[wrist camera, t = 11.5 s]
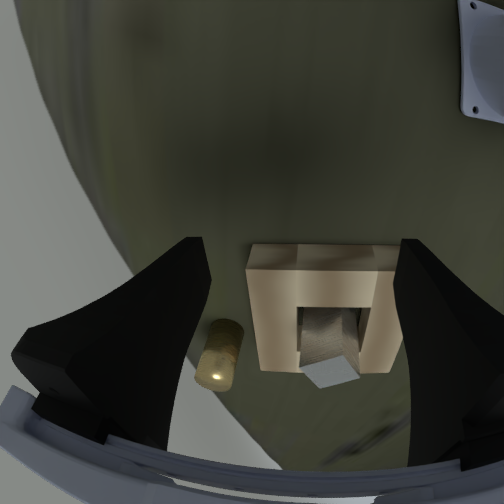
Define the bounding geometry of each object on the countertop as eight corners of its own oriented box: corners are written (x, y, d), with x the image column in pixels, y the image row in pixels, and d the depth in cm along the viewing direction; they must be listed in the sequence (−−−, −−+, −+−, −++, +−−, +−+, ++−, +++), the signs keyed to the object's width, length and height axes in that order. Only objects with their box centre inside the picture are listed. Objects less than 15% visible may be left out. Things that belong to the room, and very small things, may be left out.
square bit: (339, 282, 24) (342, 355, 18) (355, 307, 25) (360, 377, 20) (304, 296, 25) (298, 367, 20) (321, 319, 27) (319, 388, 21)
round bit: (241, 320, 28) (227, 374, 24) (245, 341, 30) (233, 393, 25) (208, 317, 29) (190, 369, 24) (214, 339, 31) (199, 388, 26)
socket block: (413, 245, 21) (424, 271, 18) (385, 347, 28) (389, 372, 25) (252, 243, 23) (245, 269, 21) (265, 345, 30) (260, 370, 28)
